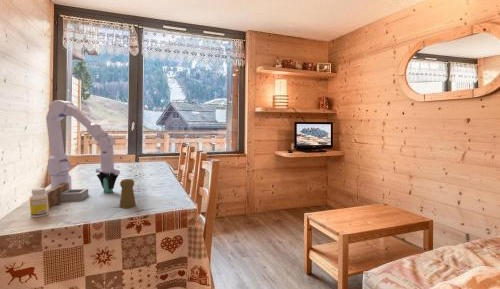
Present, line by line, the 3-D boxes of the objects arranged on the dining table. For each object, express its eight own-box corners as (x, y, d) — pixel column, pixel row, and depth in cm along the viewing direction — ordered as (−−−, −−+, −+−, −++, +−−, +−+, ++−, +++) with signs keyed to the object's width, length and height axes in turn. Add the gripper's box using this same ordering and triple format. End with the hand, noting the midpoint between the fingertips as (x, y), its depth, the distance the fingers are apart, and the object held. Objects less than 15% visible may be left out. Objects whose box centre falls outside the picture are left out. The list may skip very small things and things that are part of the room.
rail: (63, 195, 135) (62, 182, 135) (69, 195, 136) (68, 182, 135) (39, 209, 114) (39, 194, 113) (47, 209, 114) (46, 193, 114)
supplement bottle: (36, 213, 109) (35, 187, 108) (52, 212, 109) (50, 187, 109) (27, 217, 104) (25, 190, 103) (43, 217, 104) (41, 190, 103)
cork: (130, 208, 115) (129, 181, 114) (116, 207, 116) (115, 180, 115) (138, 204, 121) (138, 178, 120) (125, 203, 122) (125, 177, 121)
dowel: (104, 191, 143) (104, 177, 143) (113, 191, 144) (113, 177, 144) (102, 193, 139) (102, 178, 139) (111, 193, 140) (111, 178, 140)
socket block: (67, 197, 134) (67, 189, 134) (88, 196, 136) (88, 188, 135) (60, 202, 125) (59, 193, 125) (81, 200, 127) (81, 192, 127)
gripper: (89, 160, 140) (90, 188, 141) (110, 162, 134) (111, 191, 135) (102, 159, 147) (103, 185, 148) (123, 160, 140) (123, 188, 141)
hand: (108, 188), depth 142 cm, fingers closed on dowel, 4 cm apart
